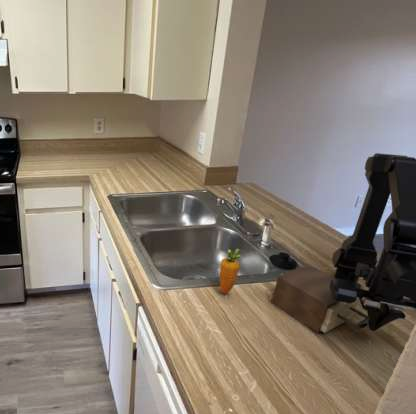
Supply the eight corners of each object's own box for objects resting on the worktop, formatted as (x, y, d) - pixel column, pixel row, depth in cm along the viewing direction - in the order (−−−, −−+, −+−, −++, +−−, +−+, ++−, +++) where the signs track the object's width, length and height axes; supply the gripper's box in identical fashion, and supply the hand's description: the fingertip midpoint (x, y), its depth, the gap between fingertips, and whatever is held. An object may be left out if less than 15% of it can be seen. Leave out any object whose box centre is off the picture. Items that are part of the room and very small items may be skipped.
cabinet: (347, 316, 86) (358, 289, 83) (317, 333, 81) (327, 305, 77) (300, 289, 97) (308, 263, 93) (271, 302, 91) (278, 276, 88)
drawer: (375, 331, 80) (385, 308, 78) (348, 348, 76) (357, 325, 73) (308, 291, 94) (314, 271, 91) (281, 304, 89) (287, 283, 86)
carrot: (229, 288, 97) (238, 244, 91) (236, 299, 93) (246, 253, 87) (212, 288, 97) (220, 244, 91) (219, 300, 93) (227, 254, 86)
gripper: (436, 262, 72) (411, 319, 78) (334, 245, 80) (319, 298, 86) (460, 290, 63) (430, 352, 69) (343, 268, 71) (324, 325, 77)
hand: (371, 329), depth 76 cm, fingers closed
